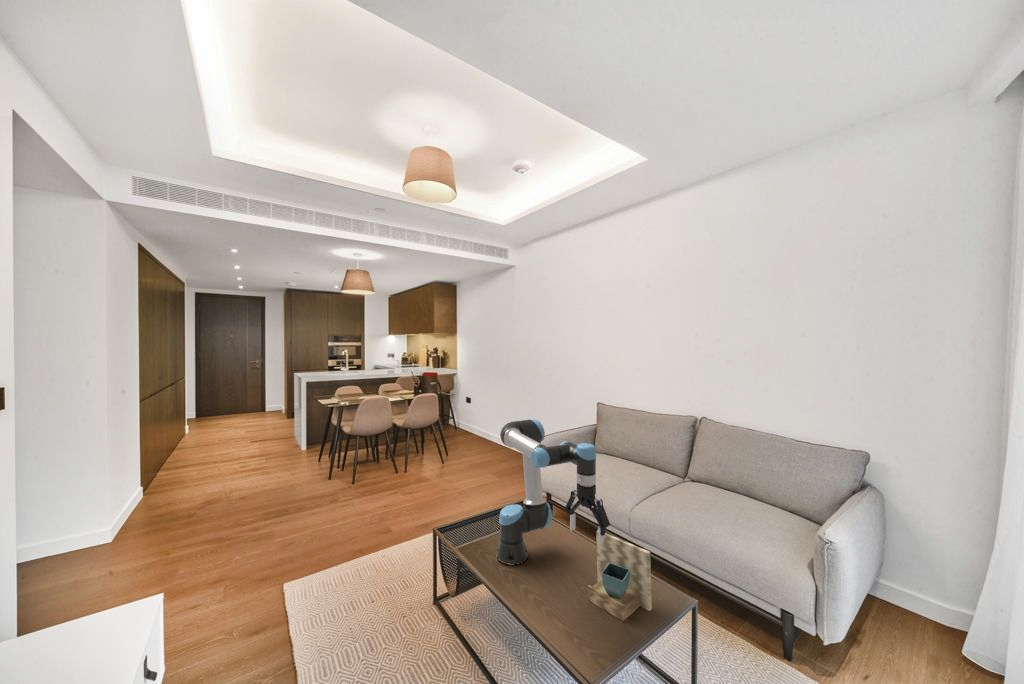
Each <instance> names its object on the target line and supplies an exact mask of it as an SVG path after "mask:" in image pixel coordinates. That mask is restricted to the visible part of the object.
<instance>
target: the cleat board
mask: <svg viewBox="0 0 1024 684" xmlns="http://www.w3.org/2000/svg"><path fill="white" fill-rule="evenodd" d="M595 539H596V576H597V577H596V580H597V583H595V584H593V585H590V584H588V585H587V601H589V602H591V603H592V604H594V605H596V606H598V607H599V608H600V609H602V610H604V611H606V612H607V613H609V614H611V615H612V616H614V617H615V618H617V619H619V620H620V621H622V622H625V620H627V619H628V618H629V617H630V616H631V615H632V614H633V613H634V612H635V611H636V610H638V609H639V607H641V608H643V609H645V610H647V611H649V612H651V611H652V608H653V607H652V575H651V574H652V573H651V571H652V570H651V569H652V568H651V567H652V566H651V564H652V563H651V551H649V550H647V549H644V548H642V547H639V546H637V545H635V544H632V543H630V542H628V541H625V540H623V539H621V538H618V537H616V536H614V535H612V534H609V533H607V532H605V535H604V542H603V543H601V544H598V529H597V530H596V538H595ZM609 563H612V564H615V565H618V566H621V567H624V568H627V569H629V570H630V577H629V584H628V587H627V589H626V591H625V593H624V595H623V596H622V598H621V599H618V598H615V597H613V596H610V595H608V594H607V592H606V591H605V589H604V586H603V581H602V574H601V573H602V571H603V570H604V569H605V568H606V566H607V565H608V564H609Z"/></svg>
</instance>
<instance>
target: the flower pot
mask: <svg viewBox="0 0 1024 684" xmlns="http://www.w3.org/2000/svg"><path fill="white" fill-rule="evenodd" d="M601 574H602V581H603V586H604V589H605V591H606V592H607V594H608V595H610V596H613V597H615V598H618V599H621V598H622V596H623V595H624V593H625V591H626V589H627V587H628V584H629V577H630V570H629V569H627V568H624V567H621V566H618V565H615V564H612V563H609V564H608V565H607V566H606V568H605V569H604V570H603V571H602V573H601Z"/></svg>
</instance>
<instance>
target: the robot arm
mask: <svg viewBox="0 0 1024 684" xmlns="http://www.w3.org/2000/svg"><path fill="white" fill-rule="evenodd" d="M499 434H500V440H501V442H502V444H503V445H505V446H506V447H508V448H511V449H515V450H516V451H518V452H520V453H521V454H522V465H523V466H522V467H523V476H524V478H523V479H524V488H525V489H524V490H525V499H524V500H523V502H522V503H523V506H522V505H520V504H518V503H516V504H508V505H506V506H504V507H503V508H502V509H501V510H500V512H499V519H498V522H499V542H498V545H497V546H498V548H497V550H496V558H497V557H498V559H500V560H501V561H503V562H505V563H510V564H517V563H521V562H523V561H524V560H525V559H526V558H527V559H528V549H527V547H526V543H525V539H524V534H527V533H530V532H534V531H535V532H536V531H539V530H543V529H545V528H548V527H549V526H550V525H551V523H552V518H553V512H552V509H551V506H550V503H548V501H547V499H546V498H544V495H543V485H542V484H543V483H542V475H541V474H542V473H541V468H546V467H551V466H557V465H563V464H569V463H571V464H574V465H576V489H574V490H571V491H570V496H569V498H568V501H567V503H566V505H565V507H564V511H565V512H567V513H568V521H569V531H570V532H572V531H575V529H576V528H577V527H576V526H577V525H576V522H577V521H576V520H577V519H576V513H575V511H576V510H577V509H578V508H579V507H580V506H581V507H585V508H587V509H589V511H591V512H592V515H593V517H594V518H595V520H596V521H597V523H598V527H597V530H598V544H601V543H603V542H604V535H605V533H606V529H607V528H608V527H610V526H611V522H610V520H609V518H608V515H607V512H606V510H605V507H604V501H603V499H602V498H600V499H597V498H596V495H597V485H596V483H597V477H596V476H597V473H596V471H597V467H596V466H597V461H596V460H597V454H596V446H595V445H594V444H592V443H586V442H582V443H578V444H576V443H574V442H571V441H569V440H568V441H567V440H566V441H565V440H564V441H562V442H561V443H559V444H558V445H552V446H546V445H545V444H543V443H542V442H543V441H544V440H545V437H546V434H545V428H544V425H543V424H542V423H541V421H540V420H539V419H534V418H533V419H524V420H516V421H509V422H507V423H506V424H505V425H504V426H503V427H502V428H501V430H500V433H499ZM576 497H577V499H578V500H577V501H576V503H574V502H575V500H576ZM523 563H524V562H523ZM521 564H522V563H521Z"/></svg>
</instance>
